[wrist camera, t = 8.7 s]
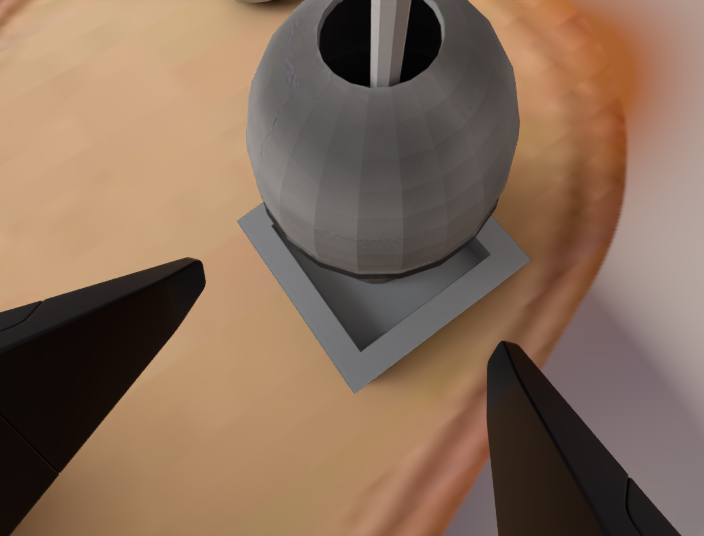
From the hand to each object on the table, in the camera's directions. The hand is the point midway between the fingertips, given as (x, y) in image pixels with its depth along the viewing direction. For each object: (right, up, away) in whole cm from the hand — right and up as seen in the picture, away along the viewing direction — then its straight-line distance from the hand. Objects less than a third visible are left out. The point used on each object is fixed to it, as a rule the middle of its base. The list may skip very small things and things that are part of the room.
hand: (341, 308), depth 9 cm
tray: (+2, +2, +12) cm, 12 cm away
